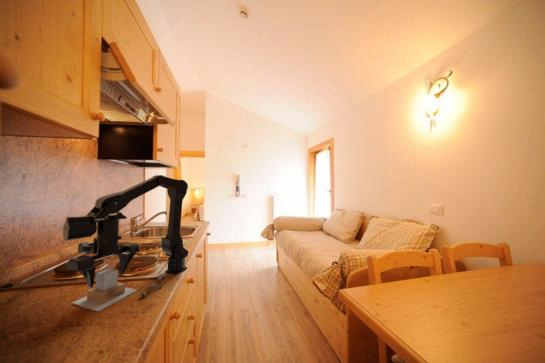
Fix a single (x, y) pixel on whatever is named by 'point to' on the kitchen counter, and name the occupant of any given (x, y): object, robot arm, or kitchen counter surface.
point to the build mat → (98, 307)
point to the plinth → (105, 293)
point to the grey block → (106, 279)
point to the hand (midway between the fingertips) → (107, 280)
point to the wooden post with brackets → (153, 286)
